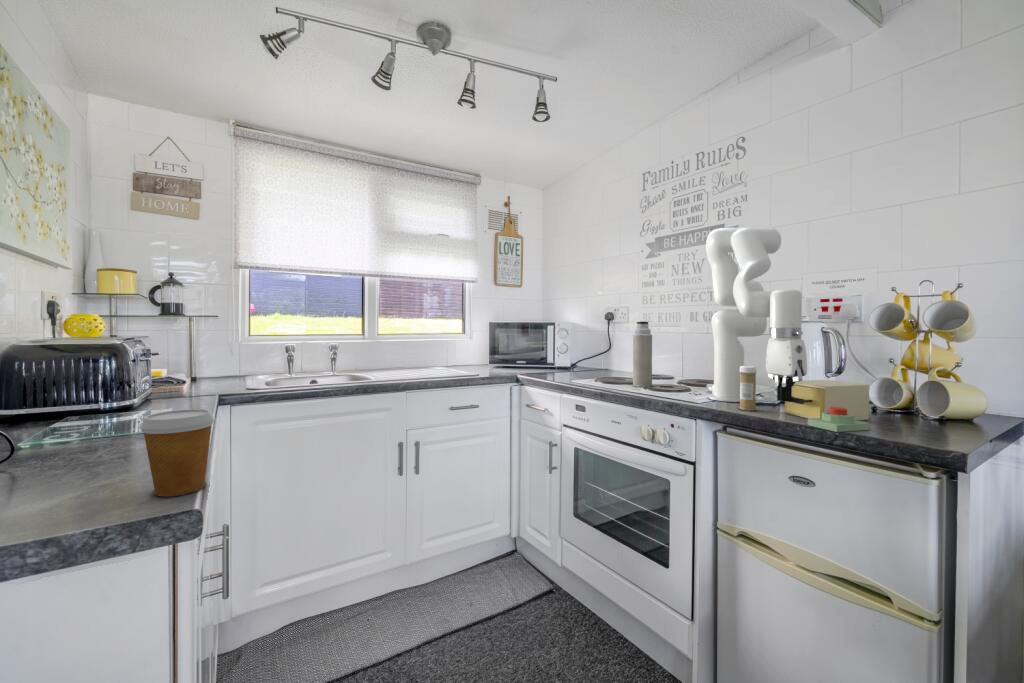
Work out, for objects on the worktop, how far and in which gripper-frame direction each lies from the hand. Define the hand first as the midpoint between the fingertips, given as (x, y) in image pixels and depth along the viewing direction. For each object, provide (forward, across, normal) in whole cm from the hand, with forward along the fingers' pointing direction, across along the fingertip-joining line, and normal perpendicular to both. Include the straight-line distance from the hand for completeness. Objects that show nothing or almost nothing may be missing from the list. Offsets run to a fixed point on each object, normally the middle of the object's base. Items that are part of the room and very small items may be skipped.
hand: (784, 400), depth 123 cm
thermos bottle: (+5, +73, +5) cm, 73 cm away
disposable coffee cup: (+6, -28, +136) cm, 139 cm away
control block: (+5, -12, -5) cm, 14 cm away
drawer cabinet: (+5, 0, -14) cm, 15 cm away
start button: (+2, -12, -5) cm, 13 cm away
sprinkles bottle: (+5, +14, 0) cm, 15 cm away
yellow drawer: (+4, 0, -10) cm, 11 cm away
